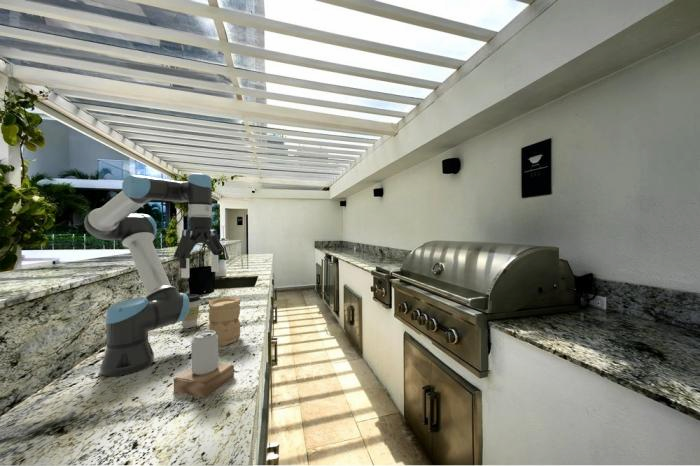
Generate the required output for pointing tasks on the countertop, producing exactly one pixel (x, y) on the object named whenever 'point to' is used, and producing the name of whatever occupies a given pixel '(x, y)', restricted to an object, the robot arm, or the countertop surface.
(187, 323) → the coffee cup
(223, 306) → the container
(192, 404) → the countertop surface
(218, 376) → the tan cardboard box
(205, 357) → the can
